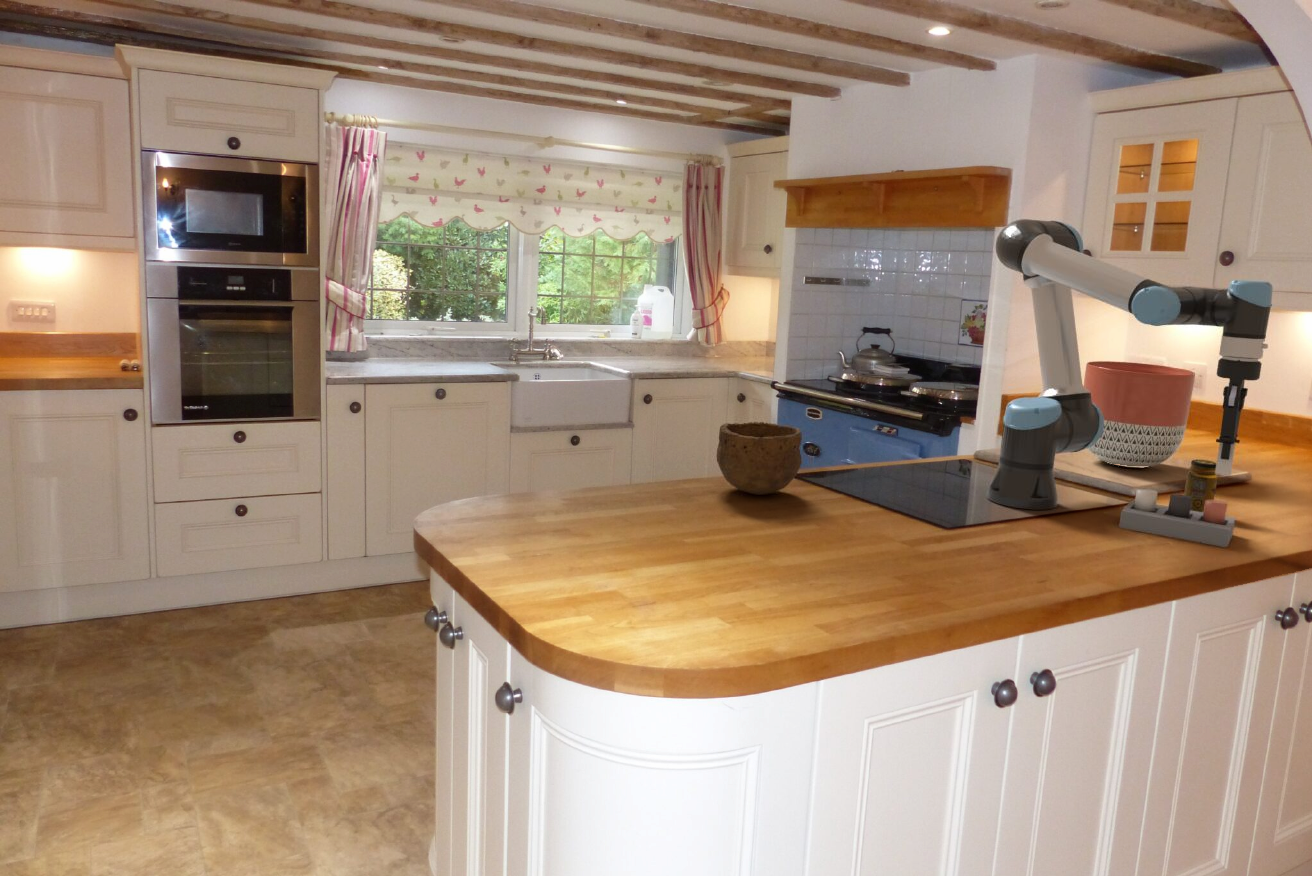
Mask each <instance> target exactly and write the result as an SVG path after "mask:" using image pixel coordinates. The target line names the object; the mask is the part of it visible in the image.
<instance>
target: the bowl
mask: <svg viewBox="0 0 1312 876" xmlns="http://www.w3.org/2000/svg"><path fill="white" fill-rule="evenodd" d="M802 434H803V433H802V430H801V428H798V427H793V426H790V425H782V424H781V425H779V424H776V423H771V422H770V423H769V422H763V421H760V422H758V421H754V422H752V421H749V422H744V423H738V422H735V423H729V422H728V423H727V422H726V423H723V424H721V425H720V427H719V434H718V444H717V449H716V462H717V464H718V467H719V470H720V472H721V474H722V475H723V477H724V479H725V480H726V482H728V483H729V484H730V485H731V486H733V487H734V488H736V489H738V490H739V491H742V492H745V493H747V494H753V495H756V496H757V495H759V496H760V495H762V496H763V495H768V494H772V493H776V492H778V491H781V490H783V489H784V488H786V487H787V486H788V485H790V483H791V482H792V481H793V479H794V478H795V476H796V475H797V474H798V472H799V470H800V468H801V465H802V463H803V462H802V454H801V450H800V447H801V445H802V437H803V435H802Z"/></svg>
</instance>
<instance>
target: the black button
mask: <svg viewBox="0 0 1312 876" xmlns="http://www.w3.org/2000/svg"><path fill="white" fill-rule="evenodd" d="M1191 501H1192V497H1190V496H1186V495H1184V494H1180V493H1174V494H1173V493H1171V494H1170V495H1169V503H1168V507H1169V508H1168V514H1169V515H1171V516H1175V517H1182V518H1187V517H1189V513H1190V507H1191Z"/></svg>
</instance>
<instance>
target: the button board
mask: <svg viewBox="0 0 1312 876" xmlns="http://www.w3.org/2000/svg"><path fill="white" fill-rule="evenodd" d="M1134 505H1135V499H1134V500H1131V501H1129V502H1128V503H1127V504H1126V506H1124V508H1123V509H1122V510H1121V513H1120V517H1119V518H1120V520H1119V525H1118V526H1119V527H1118V528H1121V529H1125V530H1131V531H1138V532H1140V533H1141V532H1142V533H1149V534H1153V535H1159V536H1163V537H1168V538H1173V537H1174V539H1179V540H1185V541H1190V542H1195V543H1200V542H1201V543H1202V544H1207V545H1211V546H1216V547H1222V548H1228V546H1229V544H1230V541H1231V539H1232V537H1233V534H1234V528H1235V524H1236V523H1235V522H1236V517H1232V516H1227V515H1225V521H1224V523H1223V524H1215V523H1209V522H1206V521H1203V520H1202V518H1203V512H1197V511H1191V510H1190V513H1189V517H1187V518H1182V517H1175V516H1171V515H1169V514H1168V508H1169V505H1168V506H1167V505H1161V504H1157V503H1156V506H1155V511H1152V512H1149V511H1141V510H1138V509H1135V508H1134Z"/></svg>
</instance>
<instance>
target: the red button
mask: <svg viewBox="0 0 1312 876" xmlns="http://www.w3.org/2000/svg"><path fill="white" fill-rule="evenodd" d="M1227 508H1228V503H1227V502H1225V501H1221V500H1218V499H1217V500H1216V499H1214V500H1205V506H1204V512H1203V518H1202V520H1203V521H1206V522H1209V523H1215V524H1223V523H1224V521H1225V516H1227V515H1226V514H1227V510H1228V509H1227Z"/></svg>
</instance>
